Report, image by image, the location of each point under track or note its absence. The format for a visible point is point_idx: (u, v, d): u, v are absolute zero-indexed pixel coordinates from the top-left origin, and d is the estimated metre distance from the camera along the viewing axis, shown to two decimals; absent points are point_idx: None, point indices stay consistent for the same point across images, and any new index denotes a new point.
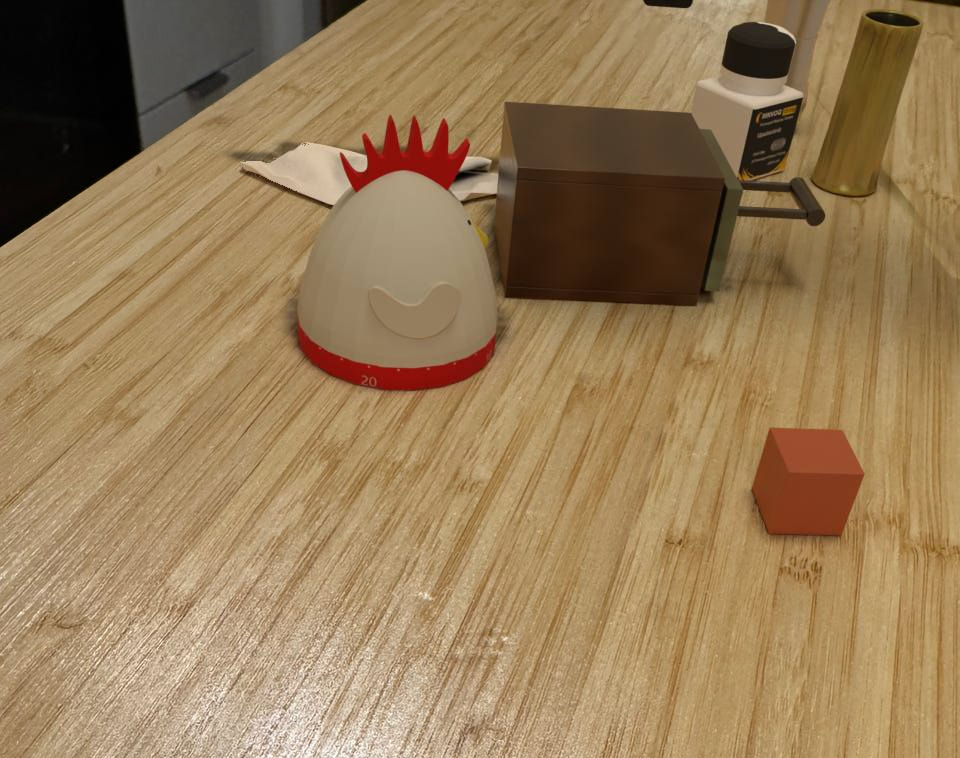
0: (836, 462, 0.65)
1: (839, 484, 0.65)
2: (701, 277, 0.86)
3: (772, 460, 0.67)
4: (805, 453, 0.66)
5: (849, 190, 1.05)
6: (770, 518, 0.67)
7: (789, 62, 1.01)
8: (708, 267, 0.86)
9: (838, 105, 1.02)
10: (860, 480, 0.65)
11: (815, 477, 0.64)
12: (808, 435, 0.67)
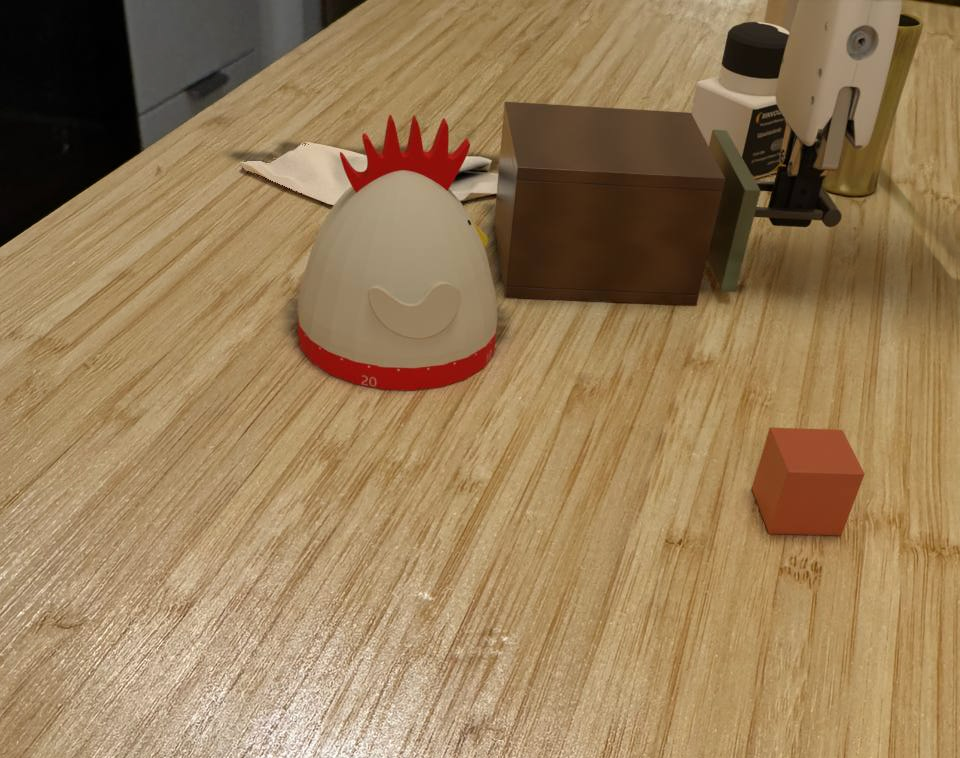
0: (836, 462, 0.65)
1: (839, 484, 0.65)
2: (701, 277, 0.86)
3: (772, 460, 0.67)
4: (805, 453, 0.66)
5: (849, 190, 1.05)
6: (770, 518, 0.67)
7: None
8: (724, 268, 0.86)
9: None
10: (860, 480, 0.65)
11: (815, 477, 0.64)
12: (808, 435, 0.67)
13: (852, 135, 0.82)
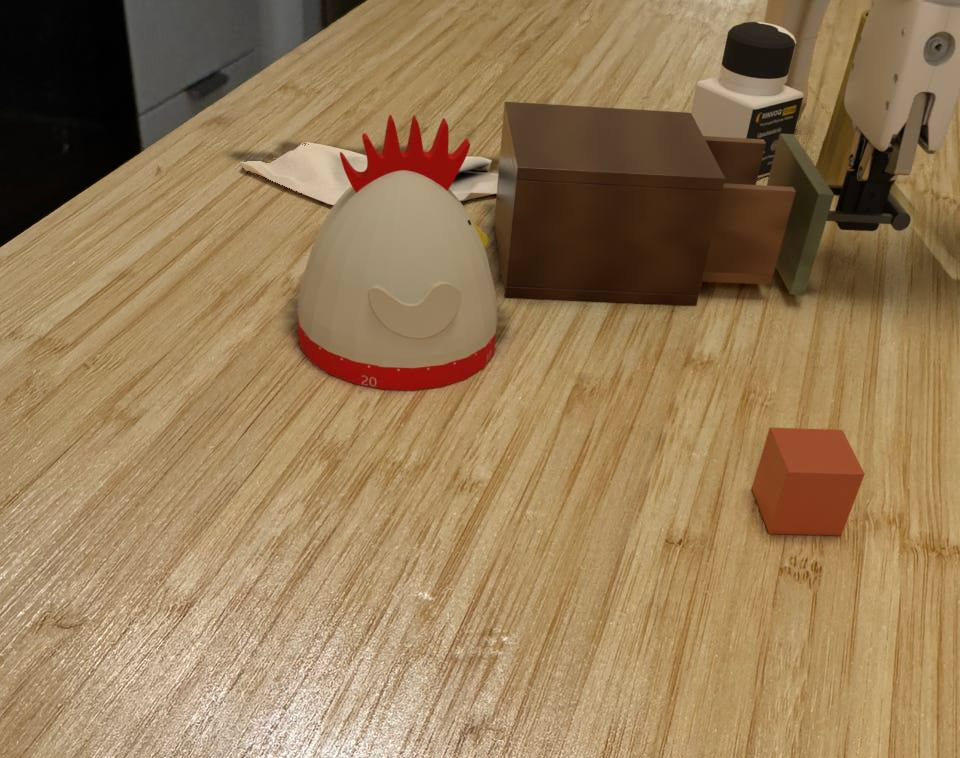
0: (836, 462, 0.65)
1: (839, 484, 0.65)
2: (701, 277, 0.86)
3: (772, 460, 0.67)
4: (805, 453, 0.66)
5: None
6: (770, 518, 0.67)
7: (789, 62, 1.01)
8: (795, 271, 0.87)
9: (838, 105, 1.02)
10: (860, 480, 0.65)
11: (815, 477, 0.64)
12: (808, 435, 0.67)
13: (924, 140, 0.83)
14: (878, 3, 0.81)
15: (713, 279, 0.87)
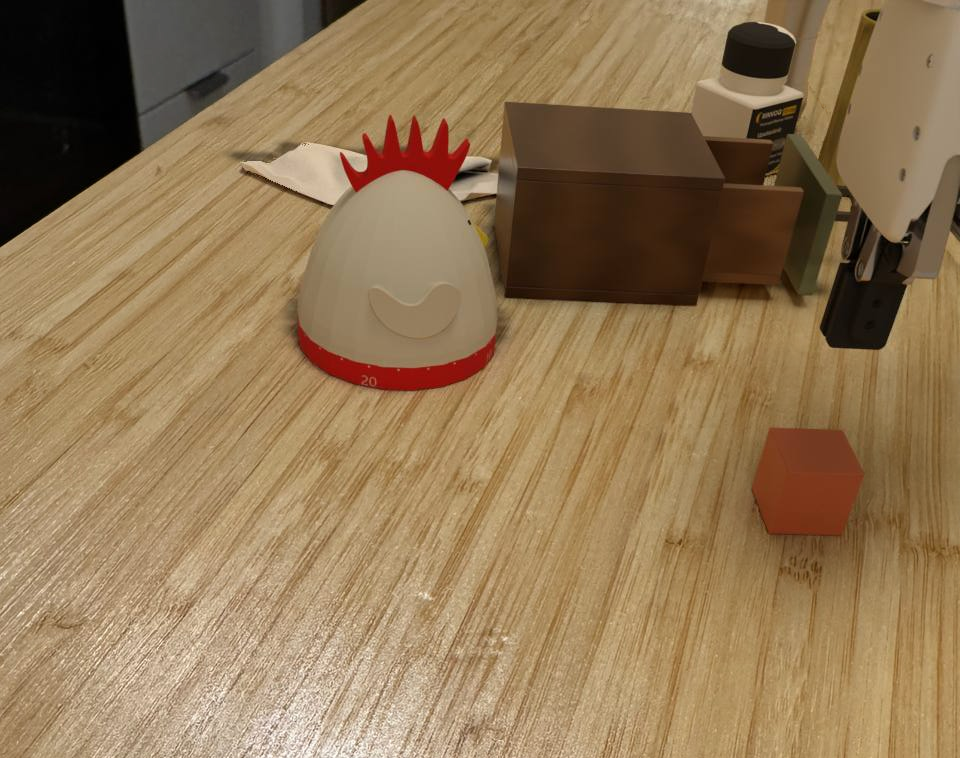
0: (836, 462, 0.65)
1: (839, 484, 0.65)
2: (701, 277, 0.86)
3: (772, 460, 0.67)
4: (805, 453, 0.66)
5: None
6: (770, 518, 0.67)
7: (789, 62, 1.01)
8: (802, 271, 0.87)
9: (838, 105, 1.02)
10: (860, 480, 0.65)
11: (815, 477, 0.64)
12: (808, 435, 0.67)
13: (958, 224, 0.54)
14: (889, 14, 0.52)
15: (720, 279, 0.87)
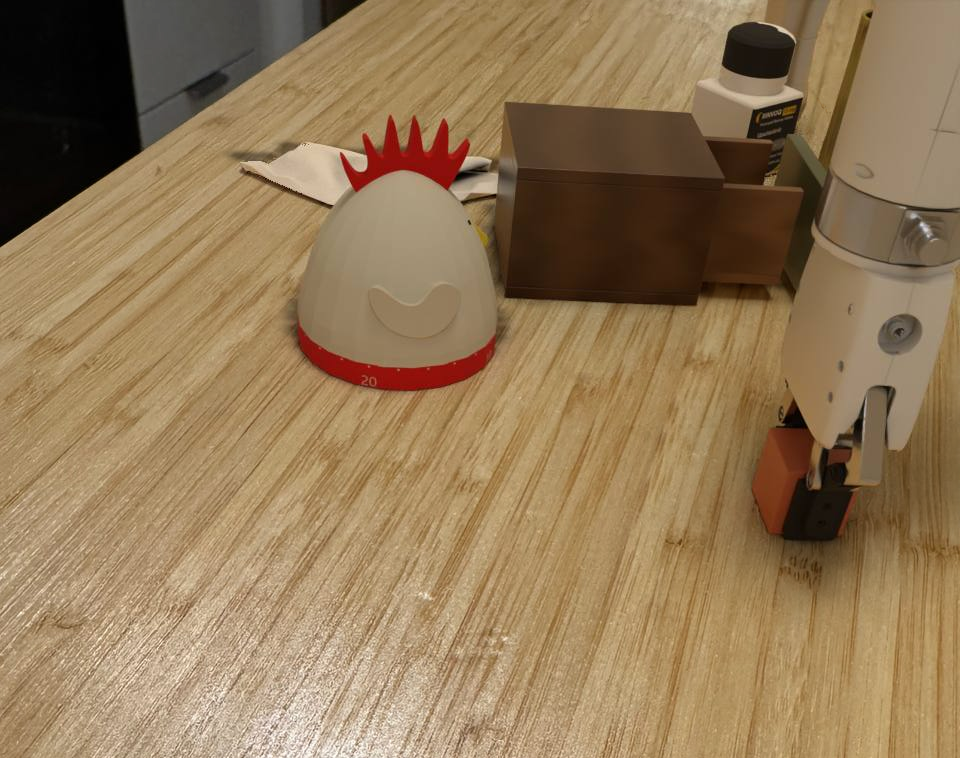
0: None
1: None
2: (701, 277, 0.86)
3: (772, 460, 0.67)
4: (805, 453, 0.66)
5: None
6: (770, 518, 0.67)
7: (789, 62, 1.01)
8: (802, 271, 0.87)
9: (838, 105, 1.02)
10: None
11: None
12: (808, 435, 0.67)
13: None
14: (820, 253, 0.59)
15: (720, 279, 0.87)
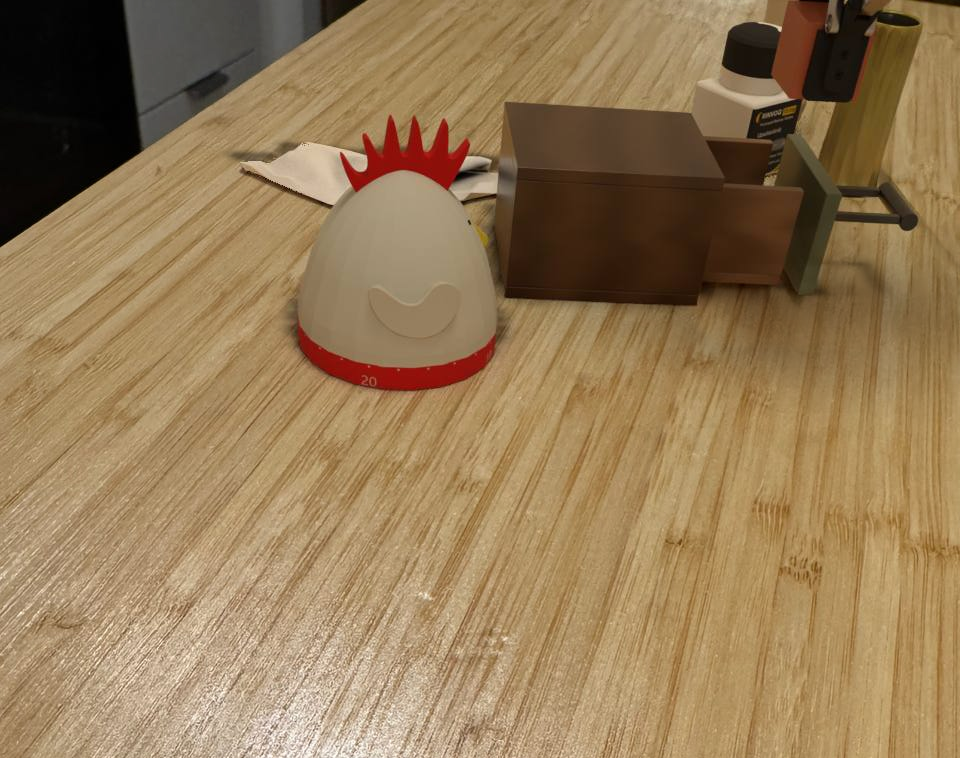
0: None
1: None
2: (701, 277, 0.86)
3: (791, 27, 0.72)
4: (822, 13, 0.71)
5: None
6: (790, 82, 0.72)
7: None
8: (802, 271, 0.87)
9: (838, 105, 1.02)
10: (873, 33, 0.70)
11: None
12: (824, 5, 0.72)
13: None
14: None
15: (720, 279, 0.87)
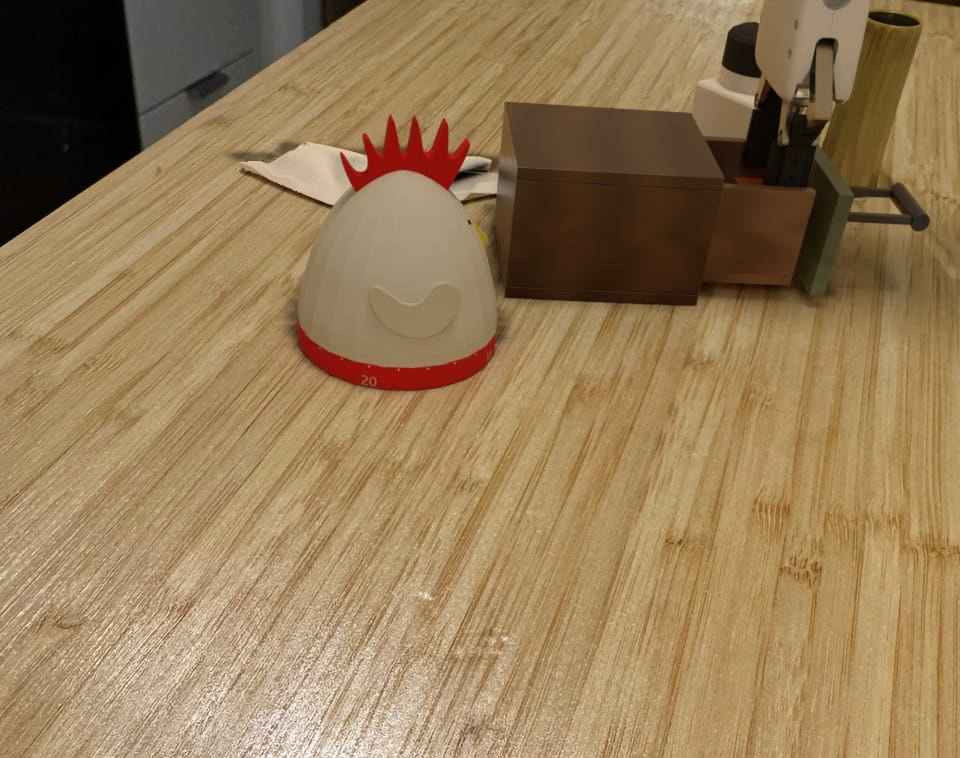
0: None
1: None
2: (701, 277, 0.86)
3: None
4: None
5: None
6: None
7: None
8: (814, 272, 0.87)
9: (838, 105, 1.02)
10: None
11: None
12: None
13: (833, 90, 0.80)
14: None
15: (732, 280, 0.87)
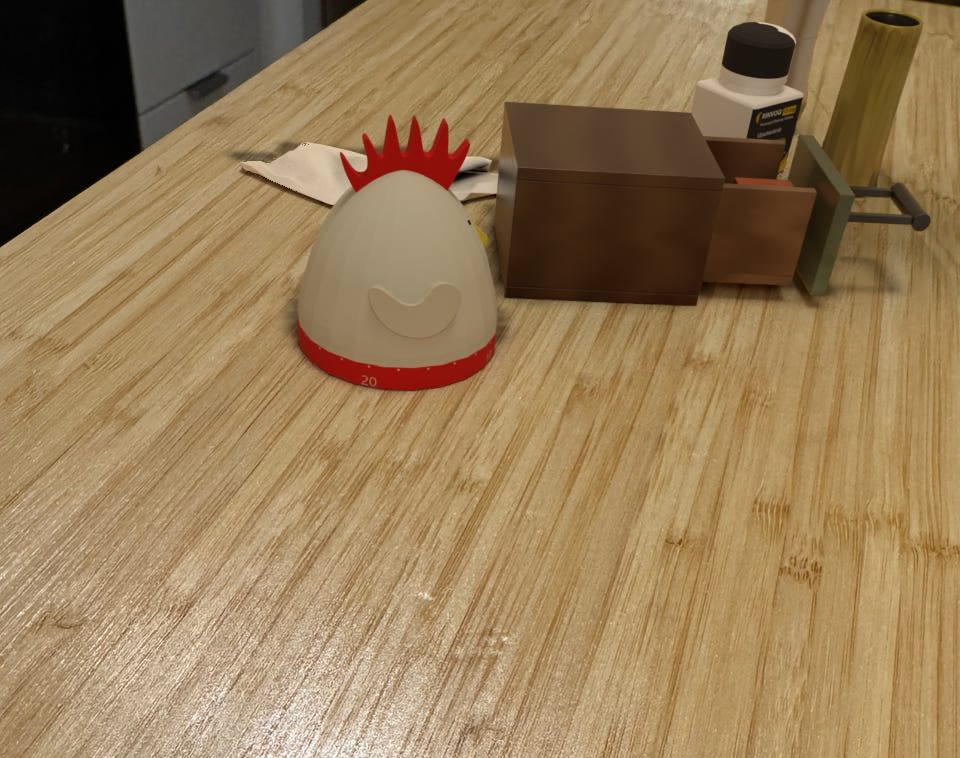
0: None
1: None
2: (701, 277, 0.86)
3: None
4: None
5: None
6: None
7: (789, 62, 1.01)
8: (815, 272, 0.87)
9: (838, 105, 1.02)
10: None
11: None
12: (764, 182, 0.89)
13: None
14: None
15: (733, 280, 0.87)
